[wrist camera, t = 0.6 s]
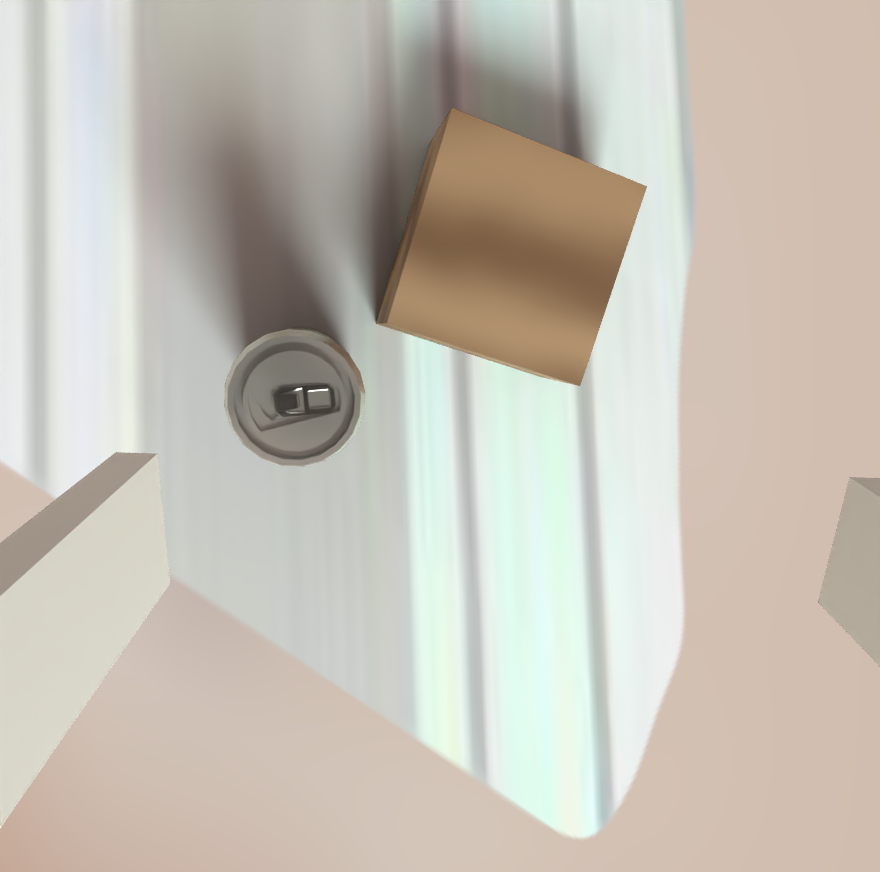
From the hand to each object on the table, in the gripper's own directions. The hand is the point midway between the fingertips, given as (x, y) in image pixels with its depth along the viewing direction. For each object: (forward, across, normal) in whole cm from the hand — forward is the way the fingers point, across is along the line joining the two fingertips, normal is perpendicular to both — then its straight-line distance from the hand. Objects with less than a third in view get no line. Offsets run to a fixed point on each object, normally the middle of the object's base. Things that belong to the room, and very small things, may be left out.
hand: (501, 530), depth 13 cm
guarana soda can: (+25, -8, -3) cm, 26 cm away
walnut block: (+27, +2, +3) cm, 27 cm away
